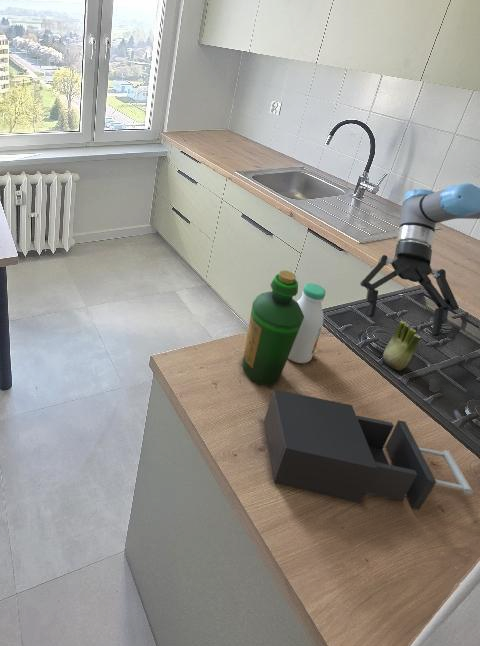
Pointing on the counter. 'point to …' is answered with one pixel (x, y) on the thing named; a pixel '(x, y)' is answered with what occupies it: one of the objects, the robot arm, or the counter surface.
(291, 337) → the bottle
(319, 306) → the milk bottle
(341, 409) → the cabinet
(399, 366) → the fennel bulb
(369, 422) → the drawer
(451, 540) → the counter surface
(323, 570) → the counter surface
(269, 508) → the counter surface
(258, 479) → the counter surface
